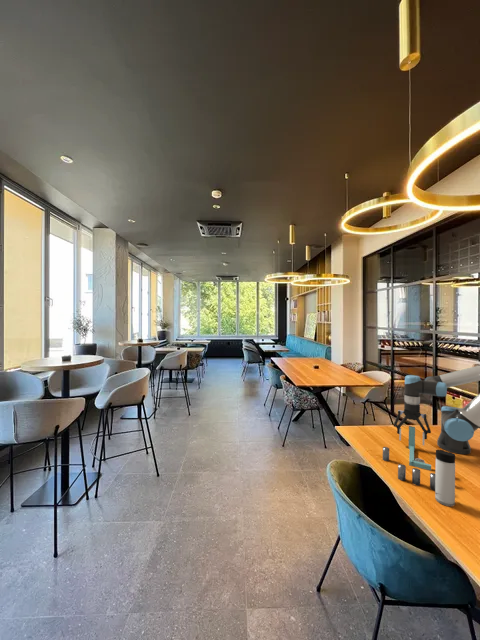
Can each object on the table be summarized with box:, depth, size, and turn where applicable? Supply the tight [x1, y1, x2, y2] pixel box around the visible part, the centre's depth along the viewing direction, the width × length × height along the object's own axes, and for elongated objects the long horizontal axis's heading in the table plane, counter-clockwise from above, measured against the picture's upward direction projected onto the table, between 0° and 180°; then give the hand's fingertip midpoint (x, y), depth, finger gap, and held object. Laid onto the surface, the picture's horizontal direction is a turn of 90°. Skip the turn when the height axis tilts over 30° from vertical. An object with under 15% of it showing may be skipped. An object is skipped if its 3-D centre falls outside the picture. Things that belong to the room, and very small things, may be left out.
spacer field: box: [382, 446, 435, 492], centre depth 130 cm, size 26×20×6 cm
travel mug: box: [434, 449, 456, 507], centre depth 110 cm, size 6×7×20 cm
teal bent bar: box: [408, 425, 432, 471], centre depth 146 cm, size 24×10×12 cm, turn 148°
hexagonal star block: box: [414, 457, 426, 463], centre depth 139 cm, size 4×5×2 cm
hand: (411, 442), depth 157 cm, fingers open, 10 cm apart
